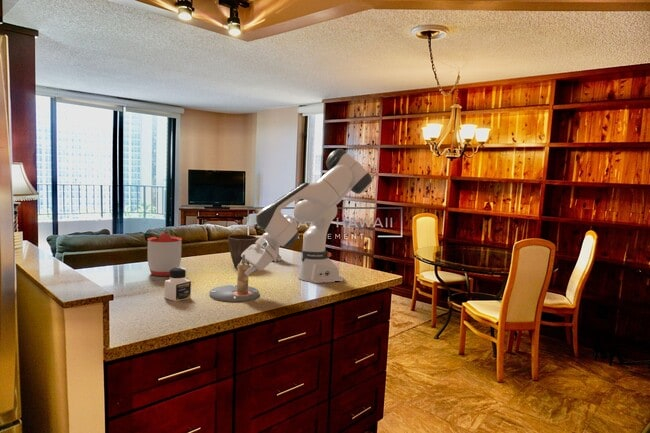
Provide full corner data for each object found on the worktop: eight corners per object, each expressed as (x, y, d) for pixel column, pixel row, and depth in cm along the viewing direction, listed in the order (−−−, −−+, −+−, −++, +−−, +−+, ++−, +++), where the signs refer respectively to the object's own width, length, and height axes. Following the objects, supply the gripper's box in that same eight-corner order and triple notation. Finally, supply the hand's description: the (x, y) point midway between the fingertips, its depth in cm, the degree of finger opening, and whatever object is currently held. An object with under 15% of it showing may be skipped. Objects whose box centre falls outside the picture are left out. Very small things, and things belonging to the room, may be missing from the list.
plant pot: (261, 266, 227) (262, 237, 225) (241, 271, 214) (243, 240, 212) (241, 262, 235) (242, 233, 233) (221, 266, 222) (222, 236, 220)
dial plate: (257, 287, 186) (257, 284, 186) (260, 301, 167) (260, 298, 166) (210, 287, 182) (210, 284, 181) (208, 302, 162) (208, 298, 162)
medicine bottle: (176, 302, 160) (176, 271, 159) (164, 298, 164) (164, 268, 163) (190, 297, 166) (191, 268, 165) (179, 294, 170) (179, 265, 169)
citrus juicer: (176, 268, 213) (176, 229, 211) (185, 276, 199) (186, 234, 197) (143, 270, 205) (143, 230, 202) (150, 279, 190) (150, 235, 188)
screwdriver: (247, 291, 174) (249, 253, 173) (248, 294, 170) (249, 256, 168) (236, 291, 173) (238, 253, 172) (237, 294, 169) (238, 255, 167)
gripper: (252, 237, 182) (229, 260, 178) (269, 246, 164) (244, 272, 160) (261, 247, 184) (239, 270, 181) (279, 256, 166) (255, 282, 163)
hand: (241, 271), depth 170 cm, fingers open, 8 cm apart
